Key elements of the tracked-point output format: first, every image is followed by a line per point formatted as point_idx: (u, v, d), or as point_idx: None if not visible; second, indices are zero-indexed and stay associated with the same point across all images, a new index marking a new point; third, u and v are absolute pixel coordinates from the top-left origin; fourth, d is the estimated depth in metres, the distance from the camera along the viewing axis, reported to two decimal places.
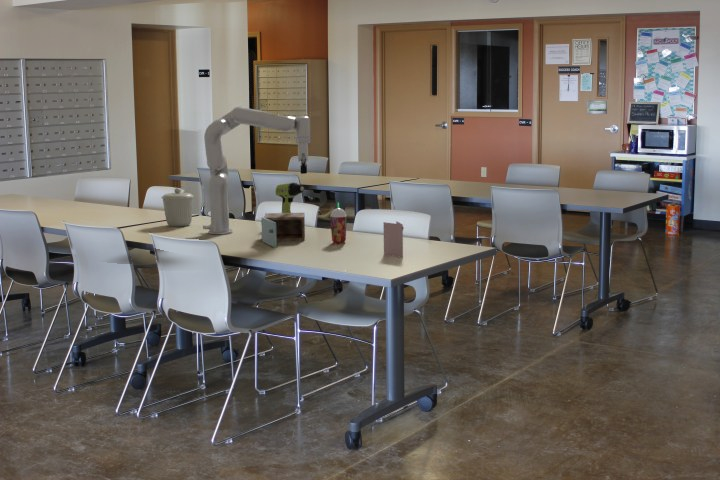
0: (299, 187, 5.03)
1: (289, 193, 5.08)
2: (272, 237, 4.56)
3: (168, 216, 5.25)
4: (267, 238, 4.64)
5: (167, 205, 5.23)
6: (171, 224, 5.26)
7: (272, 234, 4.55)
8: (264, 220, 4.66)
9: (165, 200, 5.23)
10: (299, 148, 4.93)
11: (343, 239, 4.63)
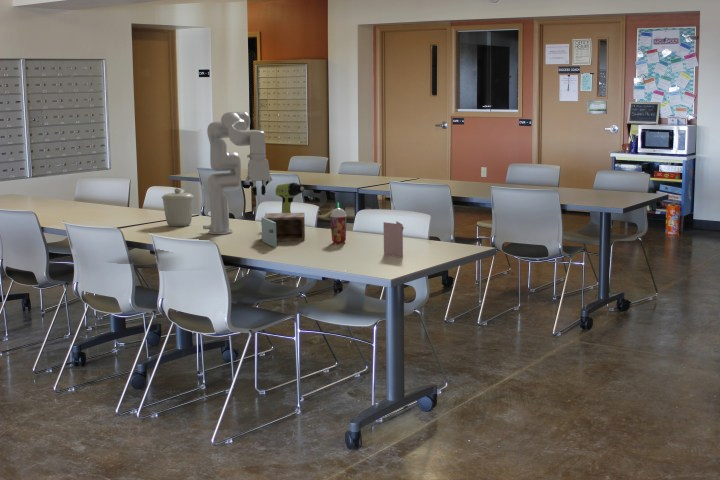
0: (299, 187, 5.03)
1: (289, 193, 5.08)
2: (272, 237, 4.56)
3: (168, 216, 5.25)
4: (267, 238, 4.64)
5: (167, 205, 5.23)
6: (171, 224, 5.26)
7: (272, 234, 4.55)
8: (264, 220, 4.66)
9: (165, 200, 5.23)
10: (268, 165, 4.53)
11: (343, 239, 4.63)
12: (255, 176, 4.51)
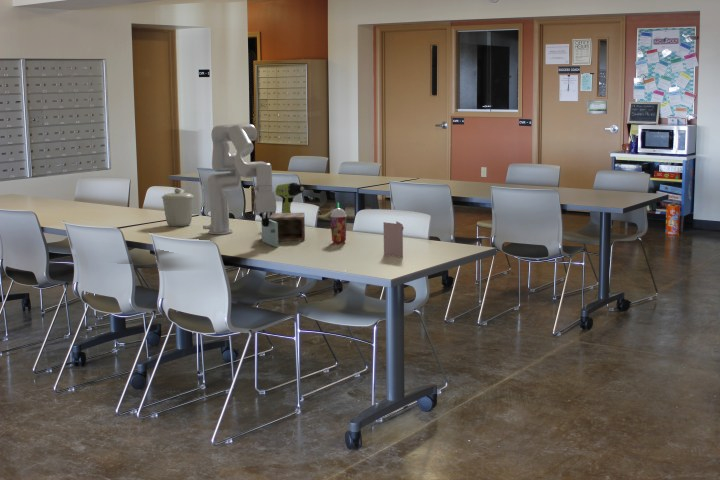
0: (299, 187, 5.03)
1: (289, 193, 5.08)
2: (274, 237, 4.56)
3: (168, 216, 5.25)
4: (268, 238, 4.64)
5: (167, 205, 5.23)
6: (171, 224, 5.26)
7: (274, 234, 4.56)
8: None
9: (165, 200, 5.23)
10: None
11: (343, 239, 4.63)
12: (263, 208, 4.54)
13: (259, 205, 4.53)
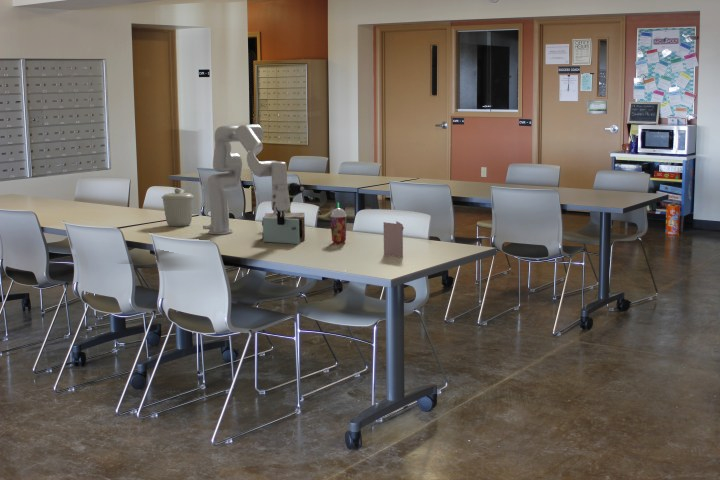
0: (299, 187, 5.03)
1: (289, 193, 5.08)
2: (293, 234, 4.64)
3: (168, 216, 5.25)
4: (278, 237, 4.68)
5: (167, 205, 5.23)
6: (171, 224, 5.26)
7: (293, 231, 4.63)
8: (271, 219, 4.68)
9: (165, 200, 5.23)
10: None
11: (343, 239, 4.63)
12: (282, 206, 4.59)
13: (280, 203, 4.57)
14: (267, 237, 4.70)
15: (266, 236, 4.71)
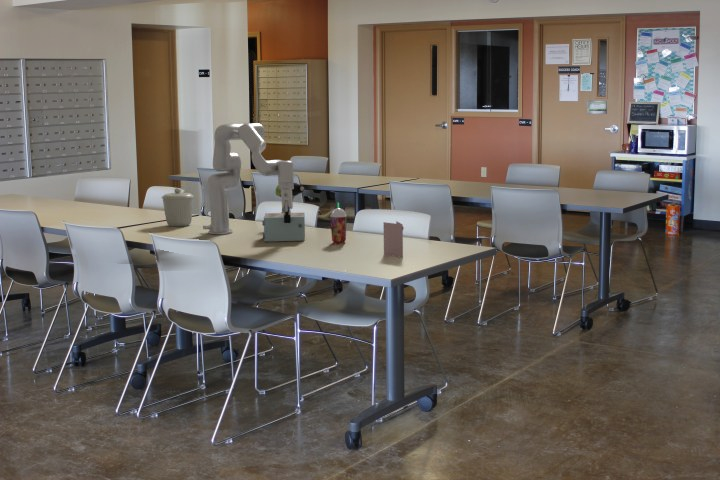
0: (299, 187, 5.03)
1: None
2: (299, 231, 4.72)
3: (168, 216, 5.25)
4: (282, 235, 4.72)
5: (167, 205, 5.23)
6: (171, 224, 5.26)
7: (299, 228, 4.72)
8: (273, 219, 4.70)
9: (165, 200, 5.23)
10: None
11: (343, 239, 4.63)
12: None
13: (291, 202, 4.63)
14: (269, 237, 4.72)
15: (268, 236, 4.71)
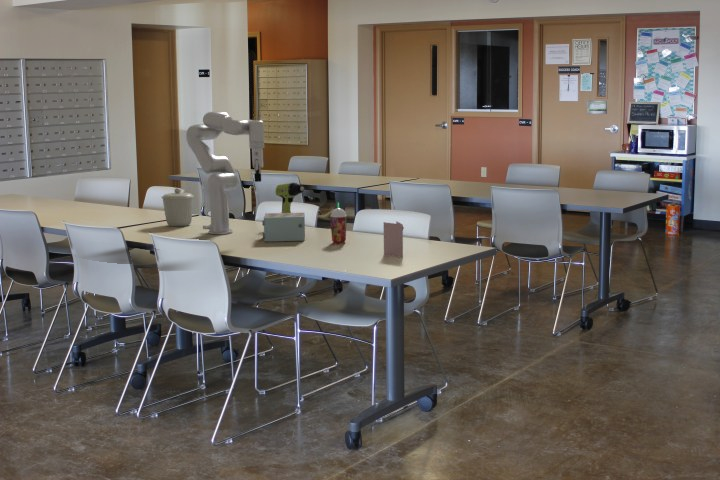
0: (299, 187, 5.03)
1: (289, 193, 5.08)
2: (299, 231, 4.72)
3: (168, 216, 5.25)
4: (282, 235, 4.72)
5: (167, 205, 5.23)
6: (171, 224, 5.26)
7: (299, 228, 4.72)
8: (273, 219, 4.70)
9: (165, 200, 5.23)
10: None
11: (343, 239, 4.63)
12: (262, 163, 4.75)
13: (262, 160, 4.73)
14: (269, 237, 4.72)
15: (268, 236, 4.71)
